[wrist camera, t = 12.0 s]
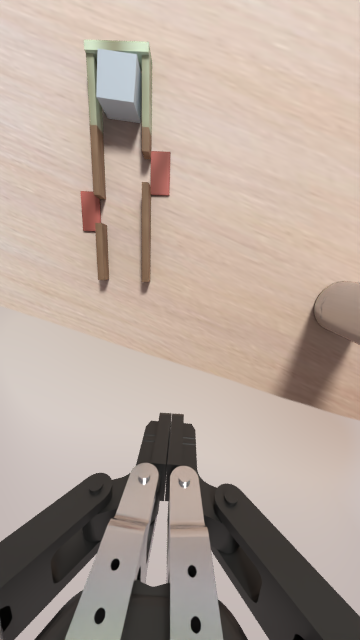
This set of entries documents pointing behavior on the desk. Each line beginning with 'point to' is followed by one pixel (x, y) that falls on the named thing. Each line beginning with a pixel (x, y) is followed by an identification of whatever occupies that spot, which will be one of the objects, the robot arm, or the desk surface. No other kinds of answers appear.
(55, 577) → the robot arm
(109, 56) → the slate block
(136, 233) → the desk surface
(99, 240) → the frame
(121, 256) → the desk surface
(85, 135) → the desk surface
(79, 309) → the desk surface
